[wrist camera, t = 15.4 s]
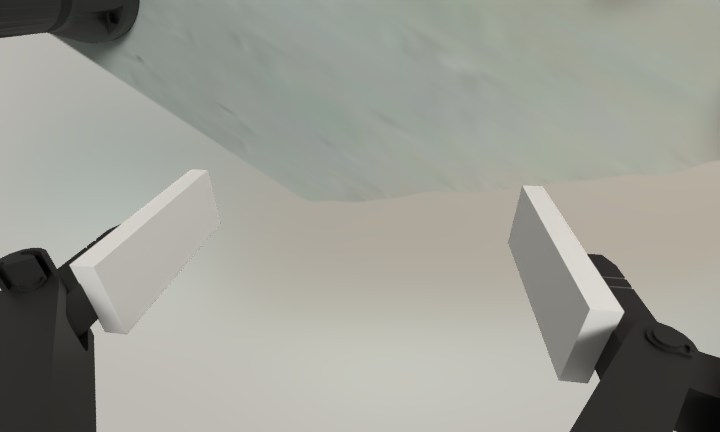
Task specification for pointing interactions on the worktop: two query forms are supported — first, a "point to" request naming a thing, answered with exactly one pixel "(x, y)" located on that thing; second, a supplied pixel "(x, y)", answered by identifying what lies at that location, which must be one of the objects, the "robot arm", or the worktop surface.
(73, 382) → the robot arm
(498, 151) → the worktop surface
